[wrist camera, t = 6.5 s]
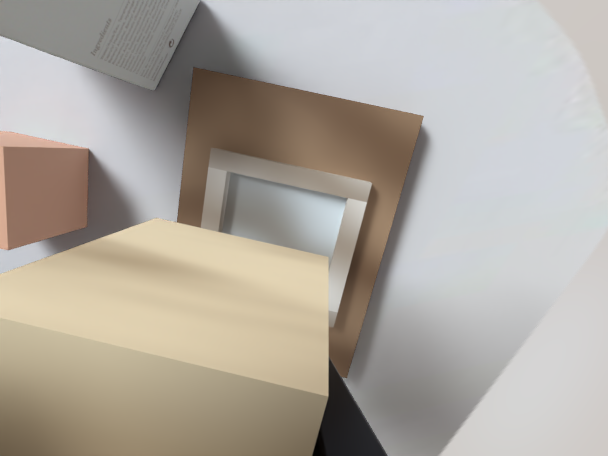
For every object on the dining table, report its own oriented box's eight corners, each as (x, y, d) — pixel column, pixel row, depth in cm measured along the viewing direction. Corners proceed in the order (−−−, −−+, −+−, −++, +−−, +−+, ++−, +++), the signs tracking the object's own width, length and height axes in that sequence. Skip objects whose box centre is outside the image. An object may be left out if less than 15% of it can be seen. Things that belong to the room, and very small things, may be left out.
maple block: (293, 401, 10) (256, 651, 5) (143, 364, 10) (-42, 572, 5) (328, 256, 8) (328, 397, 4) (156, 217, 8) (-73, 300, 4)
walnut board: (345, 365, 20) (347, 387, 18) (174, 324, 20) (158, 341, 19) (416, 118, 16) (428, 113, 14) (203, 73, 17) (186, 62, 15)
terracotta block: (87, 226, 19) (8, 250, 15) (15, 210, 20) (-88, 228, 15) (89, 148, 18) (3, 146, 13) (12, 131, 18) (-102, 123, 14)
